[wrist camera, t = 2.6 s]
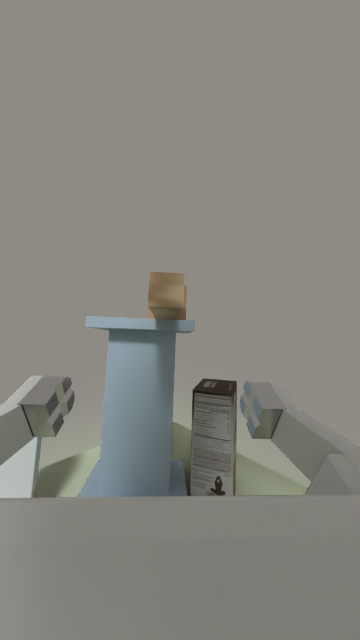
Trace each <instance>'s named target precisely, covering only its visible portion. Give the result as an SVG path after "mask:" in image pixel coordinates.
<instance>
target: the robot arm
mask: <svg viewBox="0 0 360 640" xmlns="http://www.w3.org/2000/svg"><path fill="white" fill-rule="evenodd" d="M71 384H72V382H71V378H69V377H58V376H35V375H34V376H32V377H30V378H29V379H28V380H27V381H26V382H25V383H24V384H23V385H22V386H21V387H20V388H19V389H18V390H17V391H16V392H15V393H14V394H13V395H12V396H11V397H10V398H9V399H8V400H7V401H6V402H5V403H4V404H3V405H0V466H1V465H2V464H3V463H4V462H6V461H7V460H8V459H9V458H10V457H12V456H13V455H14V454H15V453H17V452H18V451H19V450H20V449H21V448H23V447H24V446H25V445H26V444H27V443H29V442H30V441H31V440H32V439H33V437H56V435H57V433H58V431H59V430H60V428H61V426H62V425H63V423H64V420H63V417H64V416H65V415H67V414H69V412H70V411H71V409H72V407H73V403H74V392H73V390H72V389H70V386H71ZM244 390H245V392H244V393H243V394H242V395H241V399H240V407H241V411H242V414H243V416H244V417H245V418H246V419H248V422H247V427H248V429H249V432H250V434H251V437H252V438H253V439H254V438H255V439H271V441H272V442H273V443H274V444H275V445H276V446H277V447H278V448H279V449H280V450H281V451H282V452H283V453H284V454H285V455H286V456H287V457H288V458H289V459H290V460H291V461H292V462H293V463H294V465H296V467H298V469H299V470H300V471H301V472H302V473H303V474H304V475H305V476H306V477H307V478H308V479H309V480H310V481H311V482H312V483H311V484H310V486H309V487H308V489H307V491H306V493H305V495H248V496H144V497H51V498H0V640H360V448H359V447H358V446H356V445H355V444H353V443H352V442H350V441H349V440H347V439H345V438H344V437H343V436H341V435H339V434H338V433H336V432H335V431H333V430H332V429H330V428H329V427H327V426H326V425H324V424H323V423H321V422H320V421H318V420H317V419H315V418H313V417H312V416H311V415H309V414H307V413H306V412H304V411H303V410H298V408H297V407H296V406H295V405H294V403H293V401H292V400H291V399H290V397H289V396H288V394H287V393H286V392H285V390H284V389H283V388H282V386H281V385H280V383H278V382H245V384H244Z"/></svg>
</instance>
